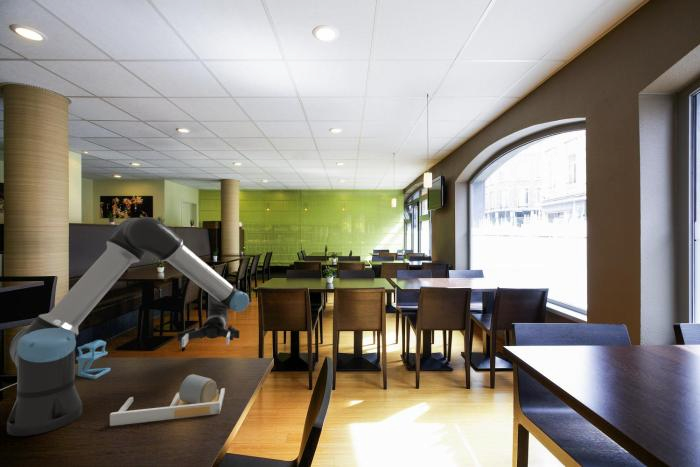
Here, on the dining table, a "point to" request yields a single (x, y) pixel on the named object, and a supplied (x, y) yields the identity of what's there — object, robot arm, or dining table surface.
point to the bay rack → (166, 411)
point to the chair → (91, 359)
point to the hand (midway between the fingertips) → (205, 342)
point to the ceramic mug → (197, 389)
